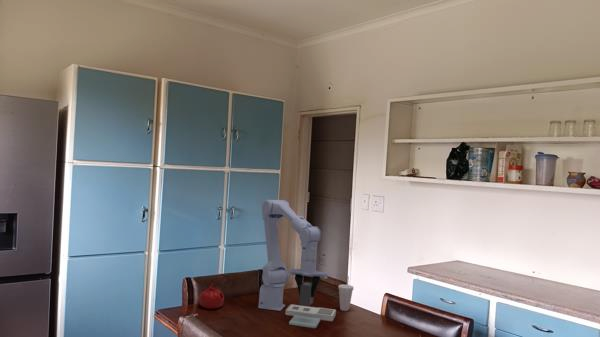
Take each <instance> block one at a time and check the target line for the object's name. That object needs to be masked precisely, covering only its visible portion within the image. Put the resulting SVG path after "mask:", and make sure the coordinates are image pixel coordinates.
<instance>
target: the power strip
mask: <svg viewBox="0 0 600 337" xmlns="http://www.w3.org/2000/svg"><path fill="white" fill-rule="evenodd" d="M336 314H337V309H332V308H325V307H315V306H308V305H300V304H292V303H291V304H290V305H288V307H286V309H285V315H286V316H291V317H294V315H298V316H305V317H313V318H320V321H328V322H334V319H335V317H336Z"/></svg>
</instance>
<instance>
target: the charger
mask: <svg viewBox="0 0 600 337" xmlns="http://www.w3.org/2000/svg"><path fill="white" fill-rule="evenodd" d="M311 293H312V282H306V281H303V283H302V284H301V286H300V296H299V301H298V302H299V303H298V305H300V306H307V307H311V305H312V304H313V302H314V297H311Z"/></svg>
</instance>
